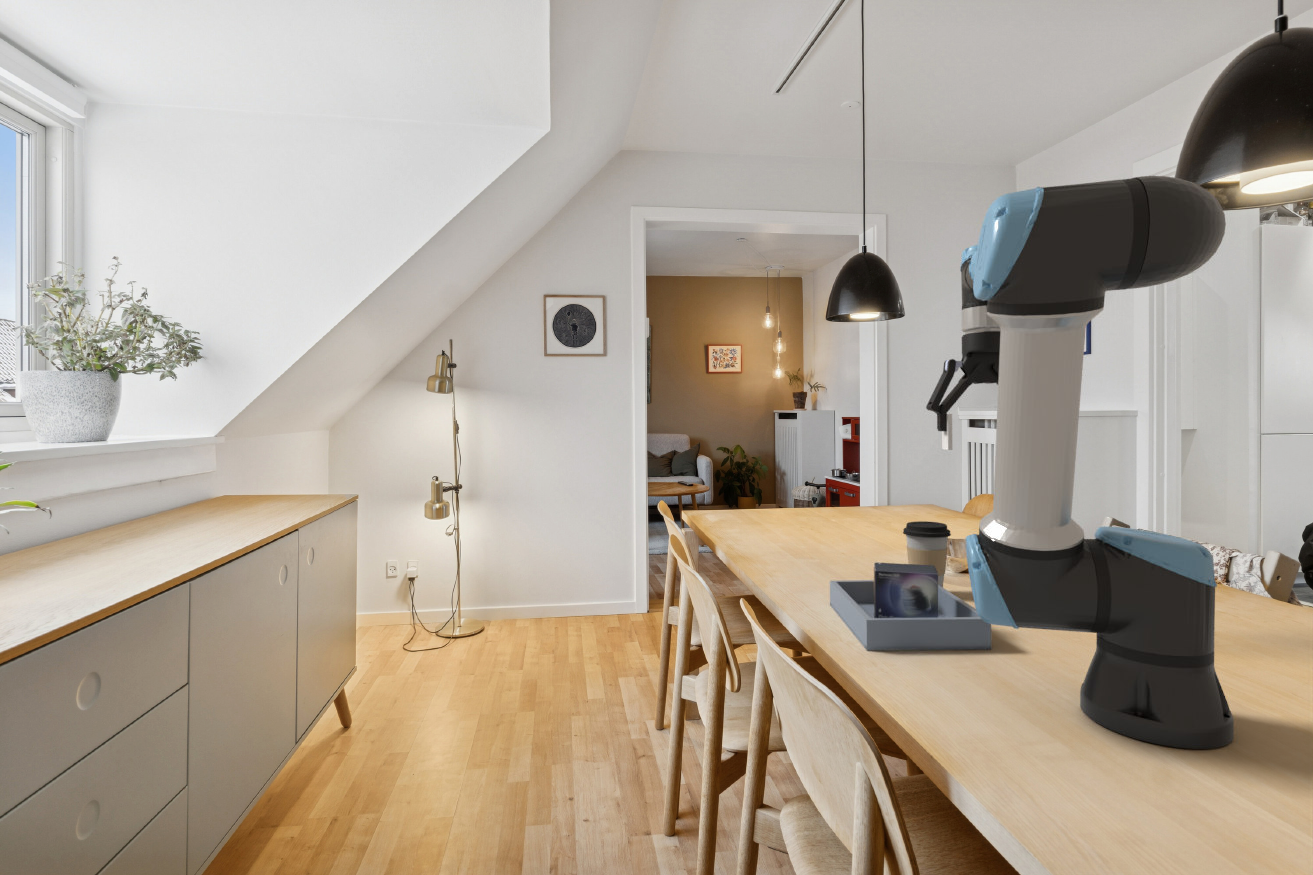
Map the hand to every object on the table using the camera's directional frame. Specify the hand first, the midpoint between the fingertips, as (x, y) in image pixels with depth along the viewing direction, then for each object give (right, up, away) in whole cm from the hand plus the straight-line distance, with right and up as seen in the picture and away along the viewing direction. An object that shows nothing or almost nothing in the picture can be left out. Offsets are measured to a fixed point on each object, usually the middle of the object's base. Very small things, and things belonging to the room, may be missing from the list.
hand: (984, 449), depth 121 cm
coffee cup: (-3, -31, +19) cm, 37 cm away
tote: (-15, -32, -1) cm, 36 cm away
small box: (-16, -32, -3) cm, 35 cm away
